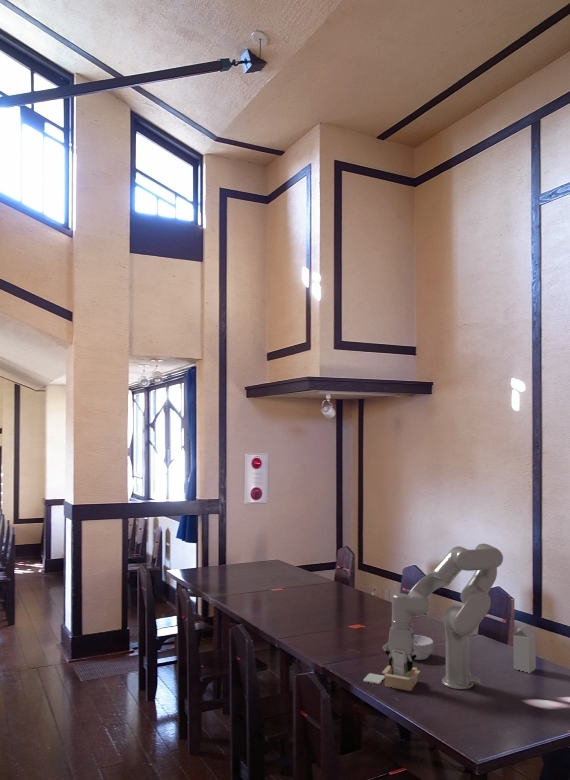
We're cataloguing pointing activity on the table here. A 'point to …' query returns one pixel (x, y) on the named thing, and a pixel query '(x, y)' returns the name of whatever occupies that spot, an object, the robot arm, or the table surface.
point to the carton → (400, 679)
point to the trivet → (374, 678)
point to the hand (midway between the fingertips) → (400, 668)
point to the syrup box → (400, 663)
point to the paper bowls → (423, 646)
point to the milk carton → (524, 650)
